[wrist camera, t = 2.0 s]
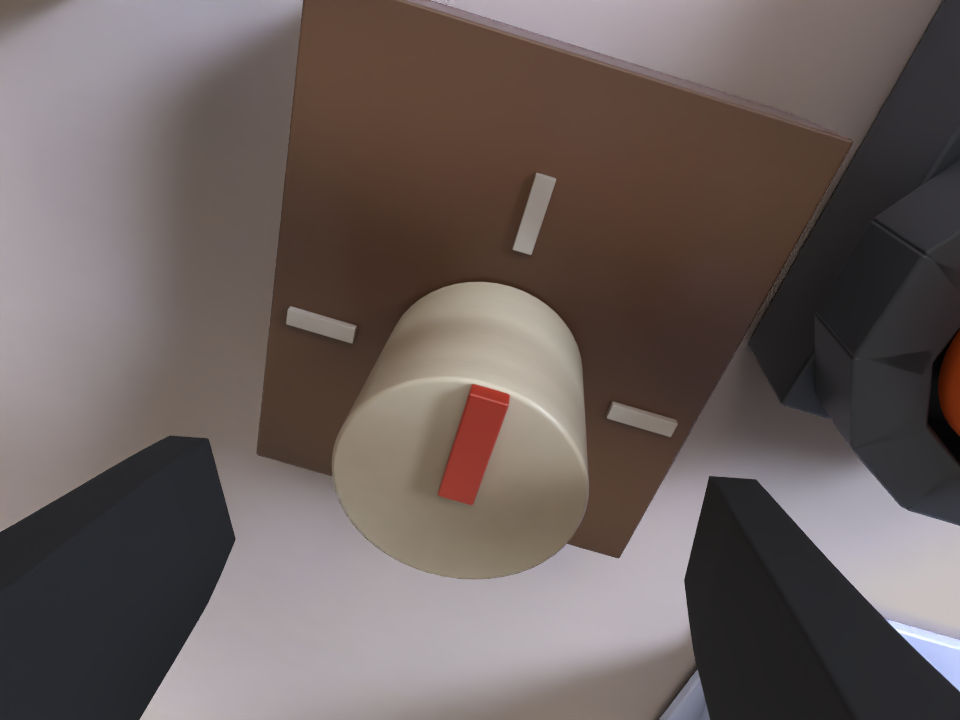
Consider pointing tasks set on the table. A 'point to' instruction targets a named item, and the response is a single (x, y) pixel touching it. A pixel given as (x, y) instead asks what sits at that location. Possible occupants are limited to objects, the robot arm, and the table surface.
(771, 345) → the button housing
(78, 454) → the table surface
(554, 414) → the dial
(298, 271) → the dial panel
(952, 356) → the orange button
